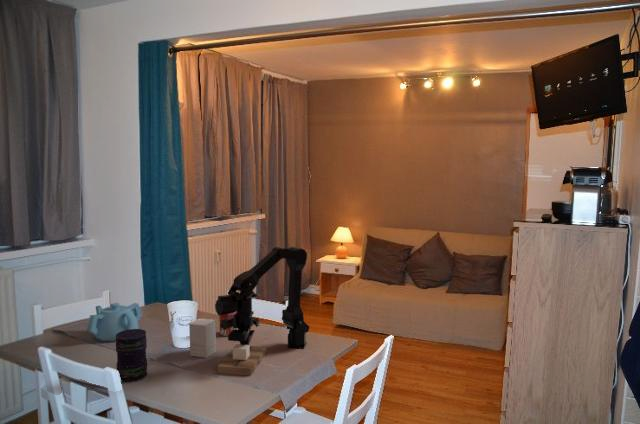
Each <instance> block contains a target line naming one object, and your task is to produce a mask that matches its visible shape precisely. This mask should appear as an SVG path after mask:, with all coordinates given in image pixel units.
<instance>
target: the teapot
mask: <svg viewBox="0 0 640 424" xmlns="http://www.w3.org/2000/svg"><path fill="white" fill-rule="evenodd" d="M132 310H133V311H132ZM95 311H96V314H90V315H89V319H88V323H87V326H86V331H87V332H89V333H91V334H92V335H93V336H94V337H95V338H96V340H98V341H100V340H101V342H107V341H111V342H116V334H117V333H119V332H121V331H125V330H130V329H139V323H138V322H139V320H140V319H141V318H142V316H143V313H142V310H141V308H140V305H139V303H136V302H134V303H132V304H129V305H128V306H126V305H120V303H119V302H114V303H110V306H107V307H104V308H103V307H102V305H96V306H95Z"/></svg>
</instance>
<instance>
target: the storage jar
mask: <svg viewBox="0 0 640 424" xmlns="http://www.w3.org/2000/svg"><path fill="white" fill-rule="evenodd" d="M147 342H148V341H147V331H146V330H145V329H141V328H138V329H130V330H125V331H121V332H119V333H117V334H116V341H115V351H116V357H117V358H116V359H117V361H116V371H117V370H118V371H119V373H120V377H121V380H122V382H121V383H133V382H138V381H141V380H143V379H145V378H147V376H148V358H147V347H148V345H147Z"/></svg>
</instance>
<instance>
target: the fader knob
mask: <svg viewBox="0 0 640 424" xmlns="http://www.w3.org/2000/svg"><path fill="white" fill-rule="evenodd" d="M250 346H251V345H250V344H249V345H241V344H235V345H234V346H233V347H232V350H233V359H238V360H247V359H248V357H249V356H250Z"/></svg>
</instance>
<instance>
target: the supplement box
mask: <svg viewBox="0 0 640 424" xmlns="http://www.w3.org/2000/svg"><path fill="white" fill-rule="evenodd" d="M188 326H189V345H190V346H189V350H190V356H192V357H198V358H206V359H207V358H209V357H210V356H212V355H214V353H216V351H217V340H216V339H217V338H216V336H217V333H216V332H217V331H216V319H209V318H198V319H196V320H194V321H192V322H190V323H189V325H188Z"/></svg>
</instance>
